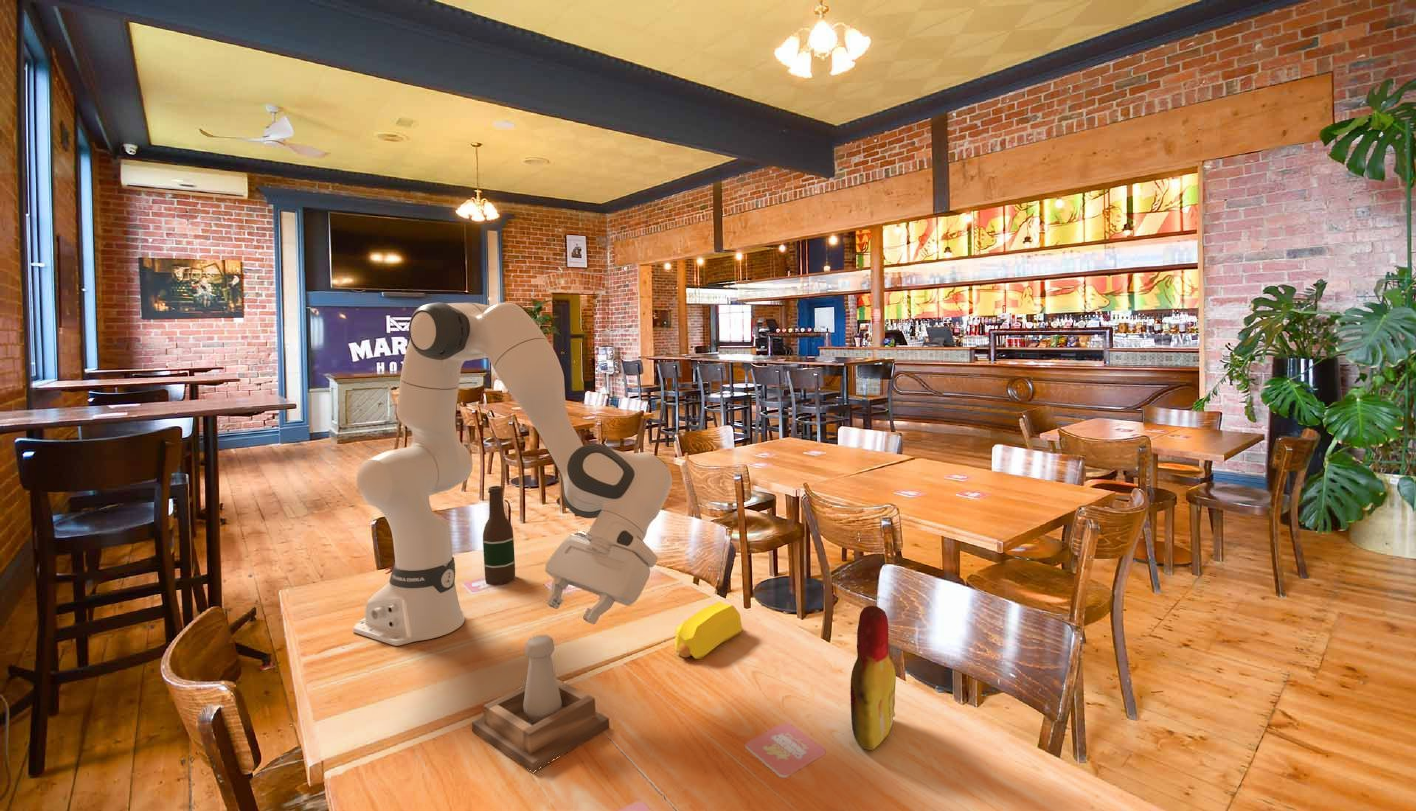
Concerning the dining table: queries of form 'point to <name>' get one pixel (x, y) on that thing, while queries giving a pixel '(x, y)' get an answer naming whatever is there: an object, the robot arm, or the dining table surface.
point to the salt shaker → (541, 680)
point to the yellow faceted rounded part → (707, 630)
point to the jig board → (539, 726)
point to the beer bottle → (498, 542)
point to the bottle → (872, 680)
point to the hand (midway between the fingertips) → (569, 613)
